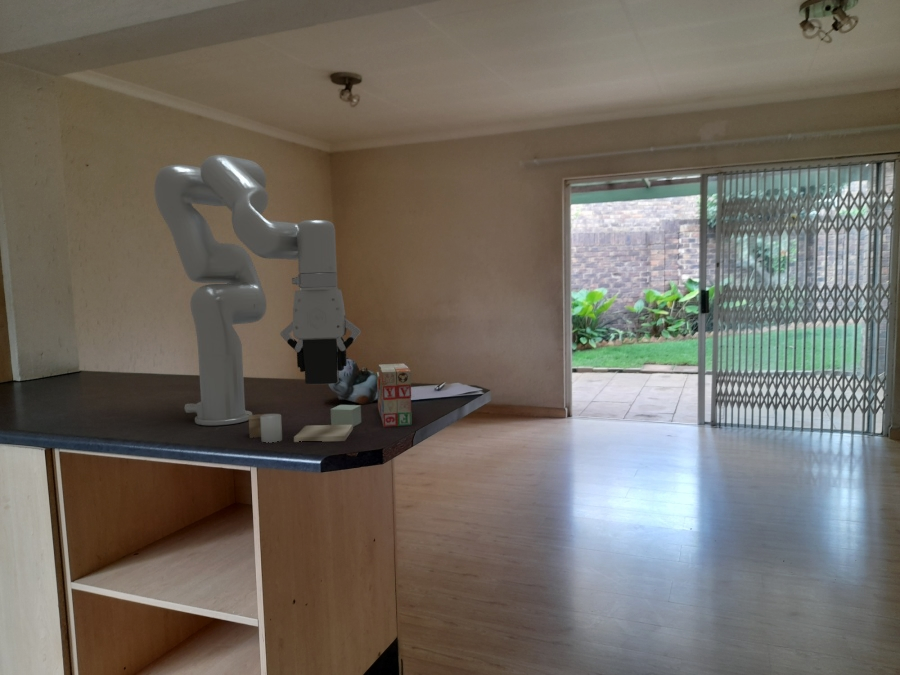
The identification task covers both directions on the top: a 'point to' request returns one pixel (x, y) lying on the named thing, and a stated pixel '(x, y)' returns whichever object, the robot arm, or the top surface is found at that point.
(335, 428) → the birch coaster
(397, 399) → the stack of blocks
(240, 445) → the top surface
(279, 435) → the grey rounded block
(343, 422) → the sage block
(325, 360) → the battery
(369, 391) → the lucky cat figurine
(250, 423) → the oak block
